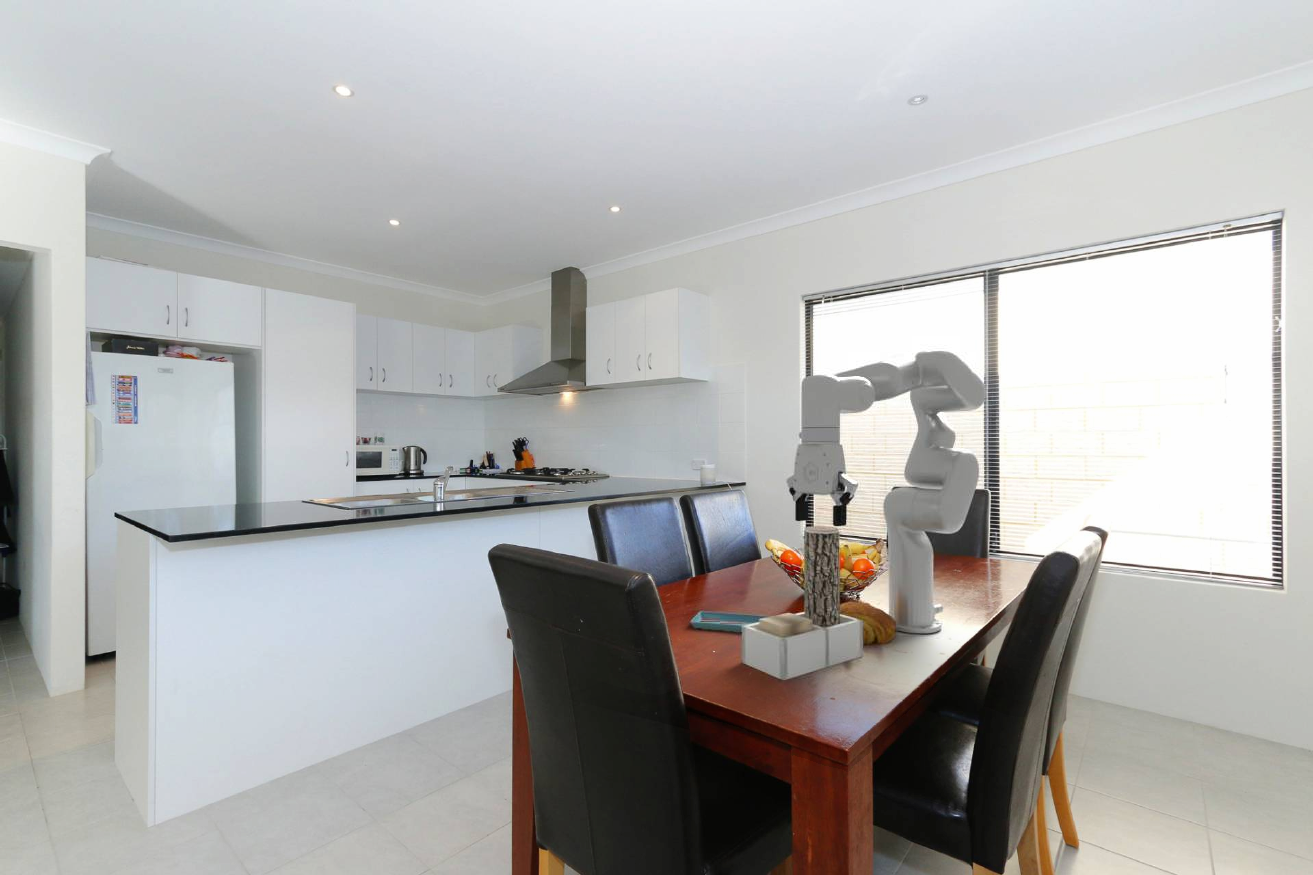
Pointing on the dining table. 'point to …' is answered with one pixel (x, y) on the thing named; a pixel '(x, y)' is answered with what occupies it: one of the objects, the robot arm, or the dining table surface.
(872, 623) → the croissant
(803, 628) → the offcut top
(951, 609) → the dining table surface
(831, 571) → the bark print cylinder
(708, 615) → the teal serving tray
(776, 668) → the divided box
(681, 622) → the dining table surface
